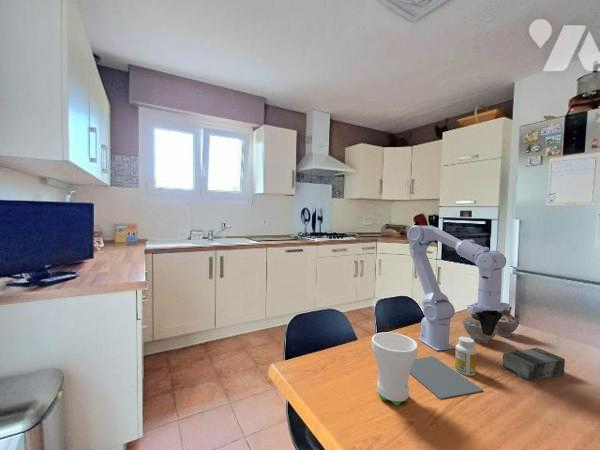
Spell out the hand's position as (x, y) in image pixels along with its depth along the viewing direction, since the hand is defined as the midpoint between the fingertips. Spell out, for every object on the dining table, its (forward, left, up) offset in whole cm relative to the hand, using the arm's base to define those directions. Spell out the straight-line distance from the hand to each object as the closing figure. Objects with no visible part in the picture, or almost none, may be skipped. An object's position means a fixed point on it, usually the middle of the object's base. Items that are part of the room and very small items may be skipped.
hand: (487, 334), depth 84 cm
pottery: (-17, +23, -11) cm, 30 cm away
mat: (0, -18, -10) cm, 21 cm away
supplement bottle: (0, -8, -11) cm, 13 cm away
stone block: (+4, +13, -11) cm, 17 cm away
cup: (+5, -36, -11) cm, 38 cm away
